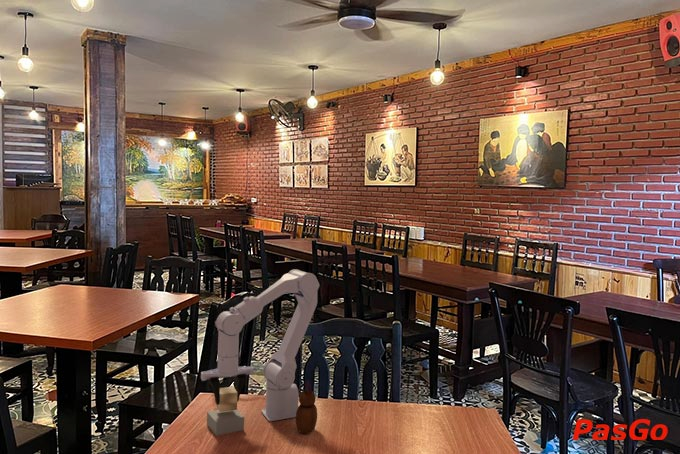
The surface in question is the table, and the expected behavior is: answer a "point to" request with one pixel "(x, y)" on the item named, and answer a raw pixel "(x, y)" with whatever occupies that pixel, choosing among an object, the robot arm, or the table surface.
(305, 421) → the wooden figurine
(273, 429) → the table surface
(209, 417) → the slate base block
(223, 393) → the maple cube
